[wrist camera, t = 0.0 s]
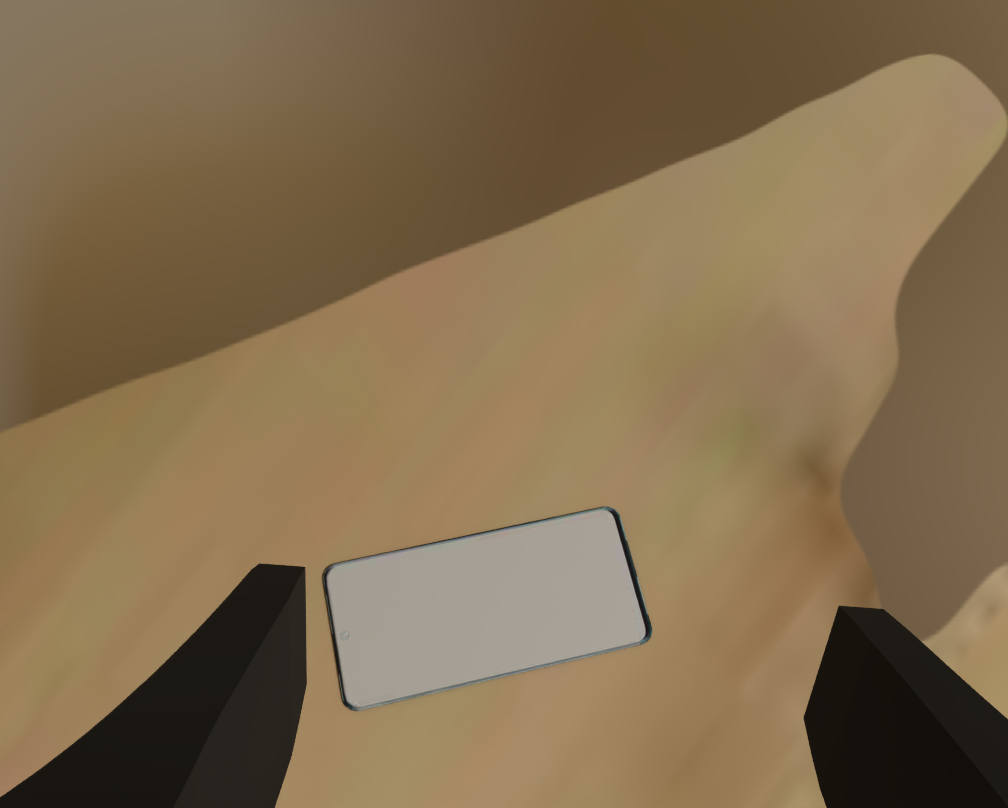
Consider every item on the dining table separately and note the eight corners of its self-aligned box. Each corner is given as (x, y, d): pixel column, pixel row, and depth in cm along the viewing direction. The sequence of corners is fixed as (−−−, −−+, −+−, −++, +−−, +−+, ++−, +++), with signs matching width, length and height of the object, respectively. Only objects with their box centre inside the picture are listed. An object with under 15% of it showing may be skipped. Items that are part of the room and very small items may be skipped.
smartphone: (655, 640, 44) (344, 714, 42) (653, 642, 45) (345, 714, 43) (616, 503, 47) (321, 566, 45) (614, 506, 47) (322, 568, 45)
